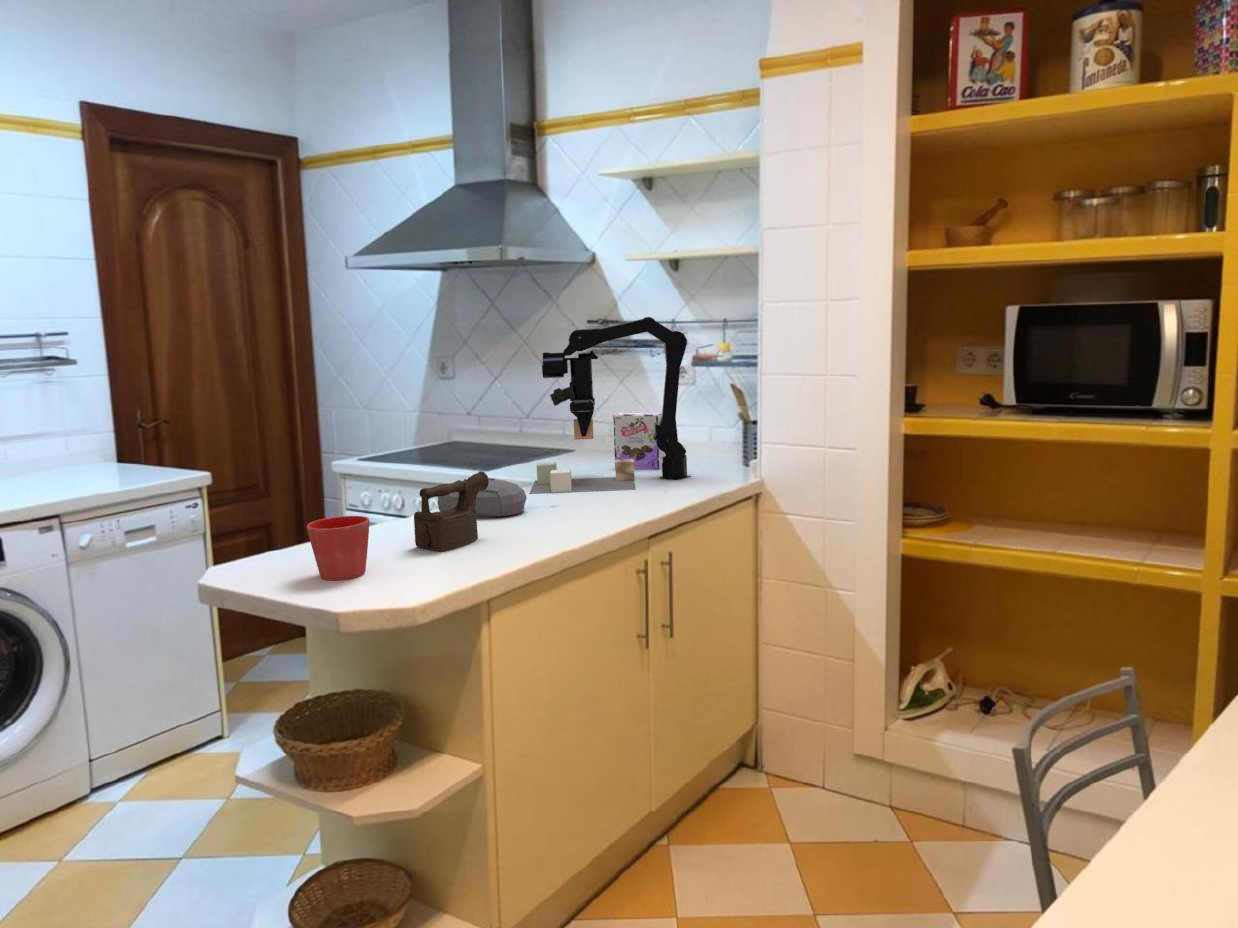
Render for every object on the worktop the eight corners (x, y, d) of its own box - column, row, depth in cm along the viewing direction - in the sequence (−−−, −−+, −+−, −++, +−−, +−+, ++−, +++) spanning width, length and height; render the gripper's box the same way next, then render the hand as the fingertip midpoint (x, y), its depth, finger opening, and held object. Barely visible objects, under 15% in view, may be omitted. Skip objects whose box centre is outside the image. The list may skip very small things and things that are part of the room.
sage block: (557, 480, 261) (556, 462, 261) (556, 483, 256) (555, 464, 256) (538, 481, 261) (537, 462, 261) (537, 484, 256) (536, 465, 256)
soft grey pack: (431, 518, 219) (509, 521, 212) (428, 482, 218) (507, 484, 211) (463, 505, 233) (538, 508, 226) (461, 472, 232) (536, 473, 225)
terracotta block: (593, 436, 260) (592, 418, 259) (593, 438, 255) (592, 420, 254) (575, 437, 260) (574, 419, 259) (574, 439, 255) (573, 420, 254)
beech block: (634, 477, 261) (633, 459, 261) (634, 480, 256) (633, 461, 256) (615, 478, 261) (615, 459, 261) (615, 480, 256) (615, 462, 256)
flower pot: (297, 581, 167) (292, 526, 166) (337, 565, 177) (332, 514, 176) (348, 585, 163) (343, 529, 162) (385, 568, 173) (381, 516, 172)
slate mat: (633, 478, 263) (633, 476, 263) (635, 491, 242) (635, 489, 242) (535, 482, 263) (535, 480, 263) (529, 495, 242) (528, 493, 242)
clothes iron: (500, 537, 196) (496, 472, 194) (437, 553, 184) (433, 484, 182) (475, 533, 201) (471, 470, 199) (412, 548, 189) (408, 481, 187)
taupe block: (571, 488, 247) (570, 469, 247) (570, 491, 243) (569, 472, 242) (552, 489, 247) (551, 470, 247) (551, 492, 242) (550, 473, 242)
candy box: (614, 470, 278) (612, 414, 276) (621, 467, 283) (619, 412, 281) (659, 471, 273) (657, 414, 270) (666, 468, 278) (664, 412, 276)
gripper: (553, 376, 264) (555, 432, 266) (549, 380, 245) (551, 440, 248) (593, 374, 264) (596, 430, 266) (592, 378, 246) (595, 438, 248)
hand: (584, 435), depth 257 cm, fingers closed on terracotta block, 5 cm apart
